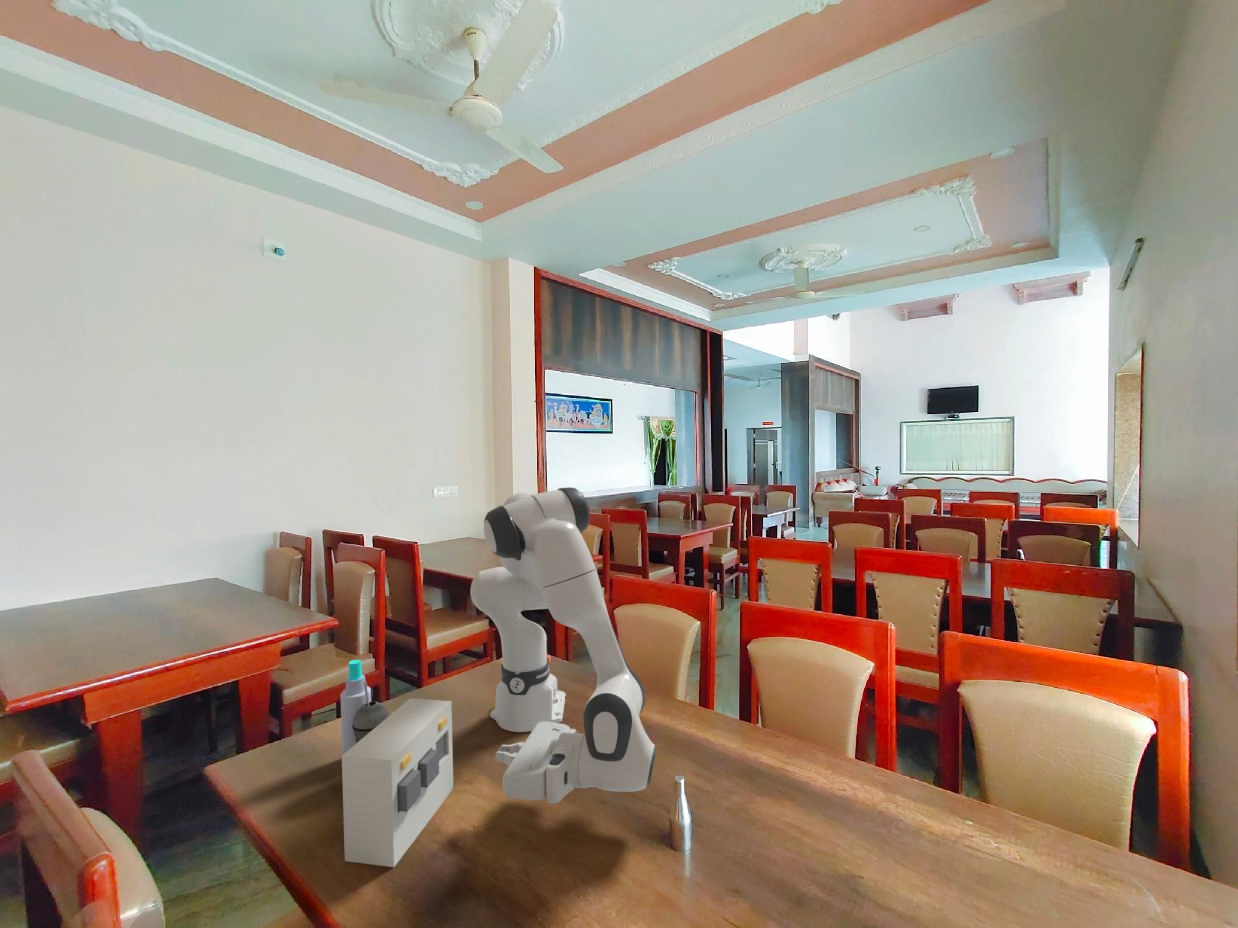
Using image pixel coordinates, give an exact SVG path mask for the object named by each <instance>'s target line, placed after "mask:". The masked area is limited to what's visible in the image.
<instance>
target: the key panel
mask: <svg viewBox="0 0 1238 928" xmlns="http://www.w3.org/2000/svg"><path fill="white" fill-rule="evenodd" d="M452 706H453V705H452V701H451V700H440V699H428V698H424V699H423V698H415V697H414V698H413V697H410V698H408V700H406V701H405V702H404V703H402V705H401V706H399V707H398V708H397V709H396V710H395V711H393V712H392V713H391V714H389V717H387V718H386V719H385V720H384V721H383V722H381V723H380V724H379V725H378V726H377V727H375V728H374V729H373V730H372V731H371V732H369V733H368V734H367V735H366V736H365V737H363V738H362V739H361V740H360V741H359V742H358V743H356V744H355V745H354V746H353V747H352V748H350V749H349V750H348V751H347V752H346V753H344V754H343V755H341V770H342V772H341V775H342V776H341V777H342V778H341V779H342V809H343V811H342V812H343V843H344V846H343V847H344V861H345V862H351V863H356V864H357V863H358V864H364V865H365V864H366V865H374V866H380V867H389V868H395V867H396V866H397V864H398V863H399V861H400V860H401V859H402V857H403V856H404V855H405V854H406V852H407V851H408V850H409V848H410V847H411V846H412V844H413V843H414V842H415V840H416V839H417V838H418V836H419V835H420V834H421V833H422V832H423V830H424V828H425V827H426V826H427V824H428V823H429V822H430V821H431V819H432V818H433V816H434V815H435V814H436V812H437V811H438V809H439V808H440V807H441V806H442V805H443V803H444V802H445V800H446V799H447V798H448V797H449V795H451V792H452V791H453V790H454V757H453V756H454V755H453V752H454V751H453V714H452V713H453V711H452V708H453V707H452ZM444 734H445V743H446V753H445V755H444V756H443V757H442V758H441V759H440V760H439V774H438V775H437V777H436V778H435V779H434V780H433V781H432V783H431V784H430V785H429V786H428V787H427V788H423V787H421V796H420V797H419V798H418V799H417V801H416V802H415V803H414V804H413V805H412V807H411V808H410V809H409V810H408V811H407V812H404V811H398V797H397V784H398V783H399V782H400V781H401V780H402V779H403V778H404V777H405V776H406V775H407V773H408V772H409V771H410V770H418V762H419V761H420V759H421V758H422V757H423V756H424V755H425V754H426V753H427V752H428V751H429V750H430V749H431V750H436V742H437V741H438V740H439V739H440V738H441V737H442V736H443V735H444Z"/></svg>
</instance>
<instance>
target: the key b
mask: <svg viewBox="0 0 1238 928" xmlns="http://www.w3.org/2000/svg"><path fill="white" fill-rule="evenodd" d="M436 750H439V760H440V759H441V758H442V757H443V756H444V755H445V753H446V743H445V734H444V735H443V736H442V737H441V738H440V739H439V740H438V741H437V742H436Z"/></svg>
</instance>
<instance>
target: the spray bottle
mask: <svg viewBox="0 0 1238 928" xmlns="http://www.w3.org/2000/svg"><path fill="white" fill-rule="evenodd" d="M362 673H363V670H362V659H353V660H350V661H349V662H348V676H347V677H346V678H345V689H344V690H342V691H341V693H340V717H341V719H340V721H341V750H342V752H341V754H342V755H343V754H344V753H346V752H347V751H348V750H349V749H350V748H352V747H353V746H354V745H355V744H356V738H355V735H354V731H353V728H352V724H353V719H354V716H355V714H356V712H357V710H358V709H359V708H360V707H361V706H362V705H364V704H365V703H366V696H365V688H364V682H366V675H364V674H362ZM367 690H368V698H369V702H372V689H371V687H370V686H368V685H367ZM342 755H341V756H342Z"/></svg>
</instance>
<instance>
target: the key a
mask: <svg viewBox="0 0 1238 928" xmlns="http://www.w3.org/2000/svg"><path fill="white" fill-rule="evenodd" d="M420 796H421V778H420V771H419V770H410V771H409V772H408V773H407V775H406V776H405V777H404V778H403V779H402V780H401V781H400V782H399V783H398V784H397V797H398V811H404V812H407V811H408V810H409V809H410V808H411V807H412V805H413V804H414V803H415V802H416V801H417V799H418V798H419V797H420Z"/></svg>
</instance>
